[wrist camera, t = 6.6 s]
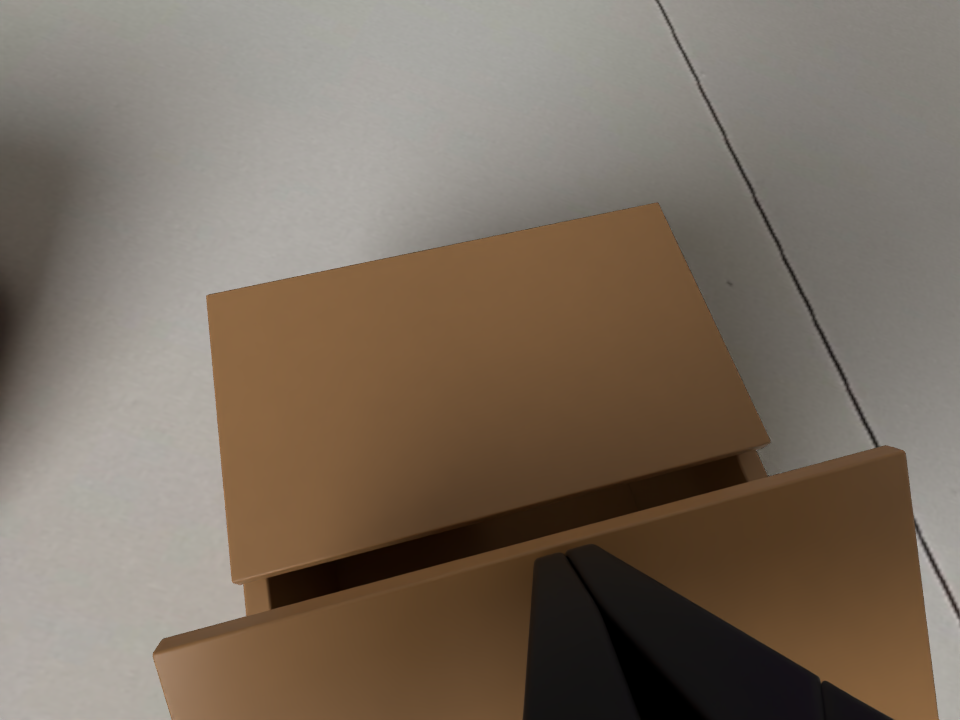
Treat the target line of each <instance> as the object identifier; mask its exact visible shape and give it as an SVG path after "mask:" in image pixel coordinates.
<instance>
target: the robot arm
mask: <svg viewBox="0 0 960 720" xmlns="http://www.w3.org/2000/svg"><path fill="white" fill-rule="evenodd" d="M523 720H894V719H893V718H891V717H889V716H887V715H885V714H884V713H882V712H880V711H878V710H877V709H875V708H873V707H871V706H869V705H868V704H866V703H864V702H862V701H861V700H859V699H857V698H855V697H854V696H852V695H850V694H849V693H847V692H845V691H843V690H842V689H840V688H838V687H837V686H835V685H833V684H832V683H830V682H828V681H823V682H822V683H821V680H820V677H819V676H817V675H816V674H814V673H812V672H811V671H809V670H807V669H806V668H804V667H802V666H801V665H799V664H797V663H795V662H794V661H792V660H790V659H789V658H787V657H785V656H784V655H782V654H780V653H779V652H777V651H775V650H773V649H772V648H770V647H768V646H767V645H765V644H763V643H762V642H760V641H758V640H756V639H755V638H753V637H751V636H750V635H748V634H746V633H745V632H743V631H741V630H740V629H738V628H736V627H734V626H733V625H731V624H729V623H728V622H726V621H724V620H723V619H721V618H719V617H717V616H716V615H714V614H712V613H711V612H709V611H707V610H706V609H704V608H702V607H701V606H699V605H697V604H695V603H694V602H692V601H690V600H689V599H687V598H685V597H684V596H682V595H680V594H678V593H677V592H675V591H673V590H672V589H670V588H668V587H667V586H665V585H663V584H662V583H660V582H658V581H656V580H655V579H653V578H651V577H650V576H648V575H646V574H645V573H643V572H641V571H639V570H638V569H636V568H634V567H633V566H631V565H629V564H628V563H626V562H624V561H623V560H621V559H619V558H617V557H616V556H614V555H612V554H611V553H609V552H607V551H606V550H604V549H602V548H600V547H599V546H597V545H595V544H587V545H583V546H579V547H576V548H572V549H569V550H567V551H566V553H565V555H564V554H563V553H560V552H558V553H554V554H550V555H547V556H543V557H539V558H537V559H536V560H535V561H534V568H533V582H532V596H531V610H530V624H529V637H528V651H527V665H526V679H525V693H524V707H523Z"/></svg>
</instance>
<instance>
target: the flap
mask: <svg viewBox="0 0 960 720" xmlns="http://www.w3.org/2000/svg"><path fill="white" fill-rule="evenodd" d="M587 544H595V545H597V546H599V547H600V548H602V549H604V550H606V551H607V552H609V553H611V554H612V555H614V556H616V557H617V558H619V559H621V560H623V561H624V562H626V563H628V564H629V565H631V566H633V567H634V568H636V569H638V570H639V571H641V572H643V573H645V574H646V575H648V576H650V577H651V578H653V579H655V580H656V581H658V582H660V583H662V584H663V585H665V586H667V587H668V588H670V589H672V590H673V591H675V592H677V593H678V594H680V595H682V596H684V597H685V598H687V599H689V600H690V601H692V602H694V603H695V604H697V605H699V606H701V607H702V608H704V609H706V610H707V611H709V612H711V613H712V614H714V615H716V616H717V617H719V618H721V619H723V620H724V621H726V622H728V623H729V624H731V625H733V626H734V627H736V628H738V629H740V630H741V631H743V632H745V633H746V634H748V635H750V636H751V637H753V638H755V639H756V640H758V641H760V642H762V643H763V644H765V645H767V646H768V647H770V648H772V649H773V650H775V651H777V652H779V653H780V654H782V655H784V656H785V657H787V658H789V659H790V660H792V661H794V662H795V663H797V664H799V665H801V666H802V667H804V668H806V669H807V670H809V671H811V672H812V673H814V674H816V675H817V676H819V677H820V680H821V683H822V682H823V681H828V682H830V683H832V684H833V685H835V686H837V687H838V688H840V689H842V690H843V691H845V692H847V693H849V694H850V695H852V696H854V697H855V698H857V699H859V700H861V701H862V702H864V703H866V704H868V705H869V706H871V707H873V708H875V709H877V710H878V711H880V712H882V713H884V714H885V715H887V716H889V717H891V718H893V719H894V720H939V718H938V710H937V702H936V694H935V686H934V678H933V670H932V661H931V653H930V645H929V637H928V629H927V621H926V613H925V605H924V597H923V589H922V581H921V573H920V565H919V557H918V549H917V540H916V532H915V524H914V516H913V508H912V500H911V492H910V484H909V476H908V468H907V460H906V453H905V451H904V450H900V449H897V448H894V447H890V446H886V445H885V446H881V447H877V448H874V449H870V450H866V451H862V452H859V453H855V454H851V455H847V456H844V457H840V458H836V459H832V460H829V461H825V462H821V463H818V464H814V465H810V466H806V467H803V468H799V469H795V470H791V471H788V472H784V473H780V474H776V475H773V476H769V477H765V478H762V479H758V480H754V481H750V482H747V483H743V484H739V485H735V486H732V487H728V488H724V489H720V490H717V491H713V492H709V493H705V494H702V495H698V496H694V497H691V498H687V499H683V500H679V501H676V502H672V503H668V504H664V505H661V506H657V507H653V508H649V509H646V510H642V511H638V512H635V513H631V514H627V515H623V516H620V517H616V518H612V519H608V520H605V521H601V522H597V523H593V524H590V525H586V526H582V527H578V528H575V529H571V530H567V531H564V532H560V533H556V534H552V535H549V536H545V537H541V538H537V539H534V540H530V541H526V542H522V543H519V544H515V545H511V546H508V547H504V548H500V549H496V550H493V551H489V552H485V553H481V554H478V555H474V556H470V557H466V558H463V559H459V560H455V561H451V562H448V563H444V564H440V565H437V566H433V567H429V568H425V569H422V570H418V571H414V572H410V573H407V574H403V575H399V576H395V577H392V578H388V579H384V580H381V581H377V582H373V583H369V584H366V585H362V586H358V587H354V588H351V589H347V590H343V591H339V592H336V593H332V594H328V595H324V596H321V597H317V598H313V599H310V600H306V601H302V602H298V603H295V604H291V605H287V606H283V607H280V608H276V609H272V610H268V611H265V612H261V613H257V614H254V615H250V616H246V617H242V618H239V619H235V620H231V621H227V622H224V623H220V624H216V625H212V626H209V627H205V628H201V629H197V630H194V631H190V632H186V633H183V634H179V635H175V636H171V637H168V638H164V639H163V640H161V642H160V643H159V645H158V646H157V648H156V649H155V651H154V652H153V659H154V662H155V666H156V669H157V672H158V676H159V679H160V682H161V686H162V689H163V692H164V695H165V699H166V702H167V705H168V709H169V712H170V715H171V719H172V720H523V707H524V693H525V679H526V665H527V651H528V637H529V624H530V610H531V596H532V582H533V568H534V561H535V560H536V559H537V558H539V557H543V556H547V555H550V554H554V553H558V552H560V553H563V554H564V555H565V553H566V551H567V550H569V549H572V548H576V547H579V546H583V545H587Z"/></svg>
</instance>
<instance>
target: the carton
mask: <svg viewBox="0 0 960 720" xmlns="http://www.w3.org/2000/svg"><path fill="white" fill-rule="evenodd" d="M206 299H207V311H208V322H209V333H210V344H211V355H212V366H213V377H214V388H215V399H216V410H217V421H218V432H219V443H220V455H221V466H222V477H223V488H224V499H225V510H226V521H227V532H228V543H229V554H230V565H231V576H232V582H233V583H235V584H238V585H242V584H243V586H244V597H245V607H246V616H250V615H254V614H257V613H261V612H265V611H268V610H272V609H276V608H280V607H283V606H287V605H291V604H295V603H298V602H302V601H306V600H310V599H313V598H317V597H321V596H324V595H328V594H332V593H336V592H339V591H343V590H347V589H351V588H354V587H358V586H362V585H366V584H369V583H373V582H377V581H381V580H384V579H388V578H392V577H395V576H399V575H403V574H407V573H410V572H414V571H418V570H422V569H425V568H429V567H433V566H437V565H440V564H444V563H448V562H451V561H455V560H459V559H463V558H466V557H470V556H474V555H478V554H481V553H485V552H489V551H493V550H496V549H500V548H504V547H508V546H511V545H515V544H519V543H522V542H526V541H530V540H534V539H537V538H541V537H545V536H549V535H552V534H556V533H560V532H564V531H567V530H571V529H575V528H578V527H582V526H586V525H590V524H593V523H597V522H601V521H605V520H608V519H612V518H616V517H620V516H623V515H627V514H631V513H635V512H638V511H642V510H646V509H649V508H653V507H657V506H661V505H664V504H668V503H672V502H676V501H679V500H683V499H687V498H691V497H694V496H698V495H702V494H705V493H709V492H713V491H717V490H720V489H724V488H728V487H732V486H735V485H739V484H743V483H747V482H750V481H754V480H758V479H762V478H765V477H768V476H767V473H766V471H765V469H764V467H763V465H762V462H761V460H760V458H759V456H758V454H757V452H756V450H758V449H762V448H764V447H765V446H767V445H768V444H770V443H771V441H770V438H769V436H768V434H767V432H766V430H765V428H764V426H763V424H762V421H761V419H760V417H759V415H758V413H757V411H756V409H755V407H754V404H753V402H752V400H751V398H750V396H749V394H748V392H747V390H746V388H745V385H744V383H743V381H742V379H741V377H740V375H739V373H738V371H737V368H736V366H735V364H734V362H733V360H732V358H731V356H730V354H729V352H728V349H727V347H726V345H725V343H724V341H723V339H722V337H721V335H720V332H719V330H718V328H717V326H716V324H715V322H714V320H713V318H712V315H711V313H710V311H709V309H708V307H707V305H706V303H705V301H704V299H703V296H702V294H701V292H700V290H699V288H698V286H697V284H696V282H695V279H694V277H693V275H692V273H691V271H690V269H689V267H688V265H687V263H686V260H685V258H684V256H683V254H682V252H681V250H680V248H679V246H678V243H677V241H676V239H675V237H674V235H673V233H672V231H671V229H670V226H669V224H668V222H667V220H666V218H665V216H664V214H663V212H662V210H661V207H660V205H659V203H652V204H647V205H642V206H637V207H633V208H628V209H623V210H618V211H613V212H608V213H603V214H599V215H594V216H589V217H584V218H579V219H574V220H569V221H564V222H560V223H555V224H550V225H545V226H540V227H535V228H530V229H526V230H521V231H516V232H511V233H506V234H501V235H496V236H492V237H487V238H482V239H477V240H472V241H467V242H462V243H457V244H453V245H448V246H443V247H438V248H433V249H428V250H423V251H419V252H414V253H409V254H404V255H399V256H394V257H389V258H385V259H380V260H375V261H370V262H365V263H360V264H355V265H350V266H346V267H341V268H336V269H331V270H326V271H321V272H316V273H312V274H307V275H302V276H297V277H292V278H287V279H282V280H278V281H273V282H268V283H263V284H258V285H253V286H248V287H243V288H239V289H234V290H229V291H224V292H219V293H214V294H209V295H207V296H206Z"/></svg>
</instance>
